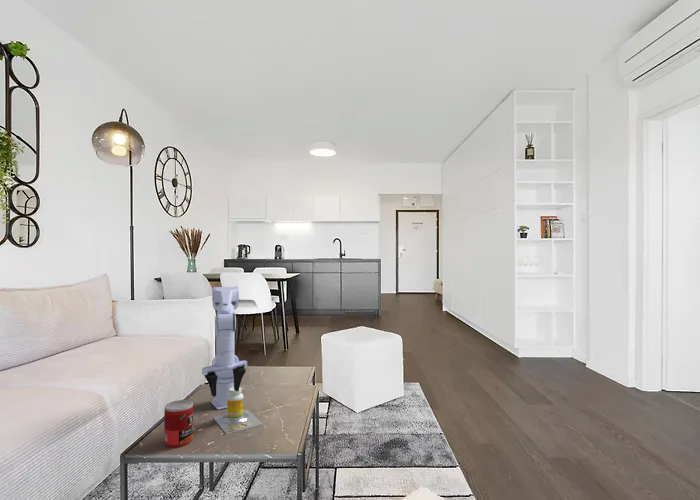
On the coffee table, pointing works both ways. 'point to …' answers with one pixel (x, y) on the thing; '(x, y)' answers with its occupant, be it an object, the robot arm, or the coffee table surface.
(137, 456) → the coffee table surface
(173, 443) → the canned food
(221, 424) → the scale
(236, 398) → the supplement bottle
